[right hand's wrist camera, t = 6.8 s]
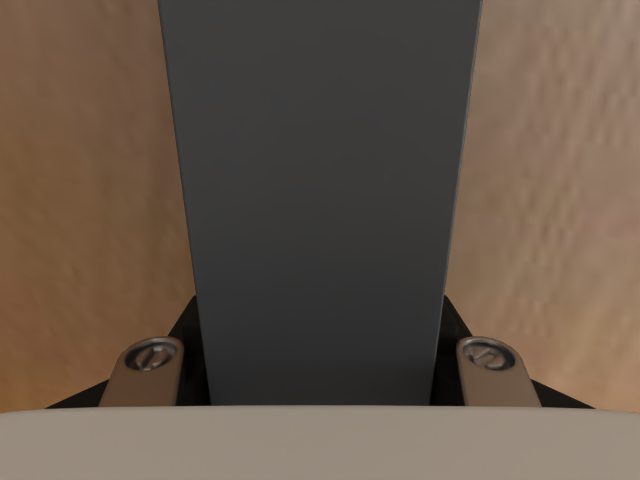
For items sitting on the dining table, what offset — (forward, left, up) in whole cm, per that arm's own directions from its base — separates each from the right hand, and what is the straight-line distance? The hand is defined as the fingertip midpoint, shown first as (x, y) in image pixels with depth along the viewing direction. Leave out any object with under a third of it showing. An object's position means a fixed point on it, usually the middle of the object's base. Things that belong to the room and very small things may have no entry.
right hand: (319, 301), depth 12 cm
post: (+23, -10, -2) cm, 25 cm away
